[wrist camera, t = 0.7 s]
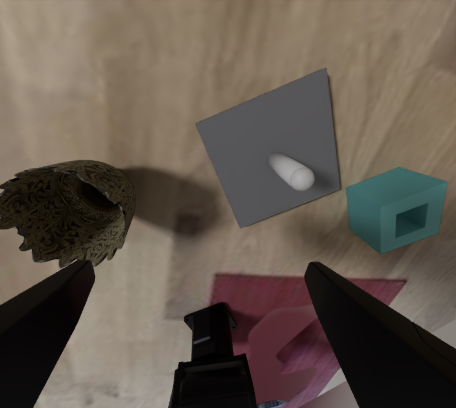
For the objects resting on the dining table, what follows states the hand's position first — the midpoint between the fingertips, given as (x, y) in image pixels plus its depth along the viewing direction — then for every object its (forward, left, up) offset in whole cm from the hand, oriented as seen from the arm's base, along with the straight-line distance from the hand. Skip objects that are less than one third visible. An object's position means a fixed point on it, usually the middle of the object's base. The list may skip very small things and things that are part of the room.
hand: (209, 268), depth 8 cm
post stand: (-1, -7, -14) cm, 15 cm away
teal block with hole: (-11, -18, -14) cm, 25 cm away
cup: (+3, +9, -14) cm, 17 cm away
